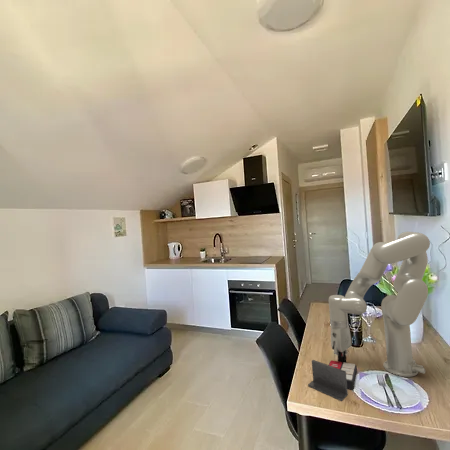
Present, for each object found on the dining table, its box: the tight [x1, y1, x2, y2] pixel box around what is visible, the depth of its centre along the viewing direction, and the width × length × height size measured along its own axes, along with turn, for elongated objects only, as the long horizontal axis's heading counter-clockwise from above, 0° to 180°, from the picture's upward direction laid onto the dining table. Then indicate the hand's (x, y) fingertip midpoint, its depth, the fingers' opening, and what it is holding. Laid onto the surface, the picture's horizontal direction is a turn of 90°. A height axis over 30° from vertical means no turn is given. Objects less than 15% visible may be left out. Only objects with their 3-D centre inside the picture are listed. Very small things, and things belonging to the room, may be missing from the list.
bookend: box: [307, 359, 349, 402], centre depth 108 cm, size 14×5×9 cm, turn 40°
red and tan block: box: [328, 360, 358, 391], centre depth 116 cm, size 11×4×15 cm
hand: (342, 363), depth 124 cm, fingers closed
